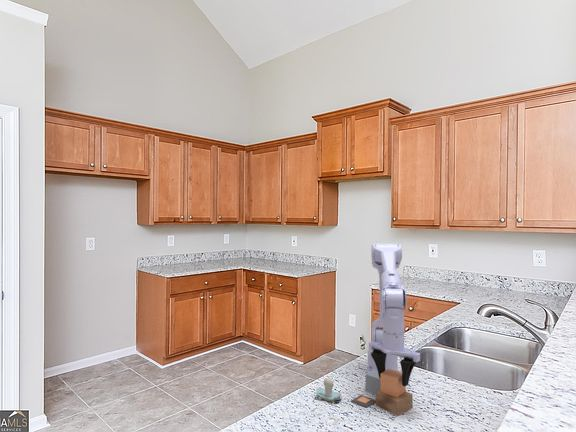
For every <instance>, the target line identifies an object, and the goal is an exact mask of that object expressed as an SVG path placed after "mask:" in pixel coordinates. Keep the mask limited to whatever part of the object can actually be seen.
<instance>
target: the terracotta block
mask: <svg viewBox="0 0 576 432" xmlns="http://www.w3.org/2000/svg"><path fill="white" fill-rule="evenodd" d="M406 387H407V386H403V385H402V371H396V370H392V369H388V370H386V371H384V372H382V373H381V392H382V393H385V394H388V395H391V396H394V397H397V398H398V397H399V396H400V395H402V394H403V393H405V392H407V391H406V390H407V389H406Z"/></svg>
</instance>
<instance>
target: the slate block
mask: <svg viewBox="0 0 576 432" xmlns="http://www.w3.org/2000/svg"><path fill="white" fill-rule="evenodd" d="M364 376H365V388H364V389H365V392H366V393H367V392H368V393H370V394H372V395H375V396H376V392H377V391H379V390H381V378H379V374H378V371H376V370H373V371H371V372H369V373H365V375H364Z"/></svg>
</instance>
